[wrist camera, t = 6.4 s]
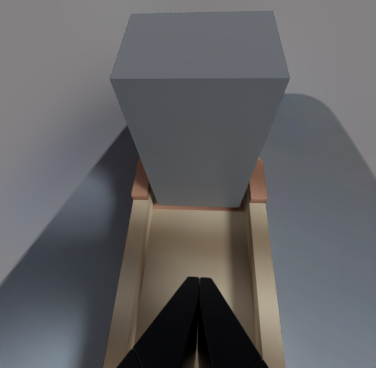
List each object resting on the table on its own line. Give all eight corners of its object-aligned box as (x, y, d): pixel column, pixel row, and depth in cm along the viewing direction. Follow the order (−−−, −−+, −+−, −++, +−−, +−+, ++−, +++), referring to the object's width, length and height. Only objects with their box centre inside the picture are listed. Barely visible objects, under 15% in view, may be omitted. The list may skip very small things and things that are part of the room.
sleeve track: (281, 446, 12) (361, 579, 6) (106, 430, 12) (24, 537, 6) (251, 155, 20) (271, 94, 14) (150, 153, 21) (132, 94, 15)
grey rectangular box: (239, 207, 16) (290, 77, 7) (158, 205, 16) (109, 78, 7) (236, 159, 18) (272, 10, 9) (164, 158, 18) (130, 13, 9)
